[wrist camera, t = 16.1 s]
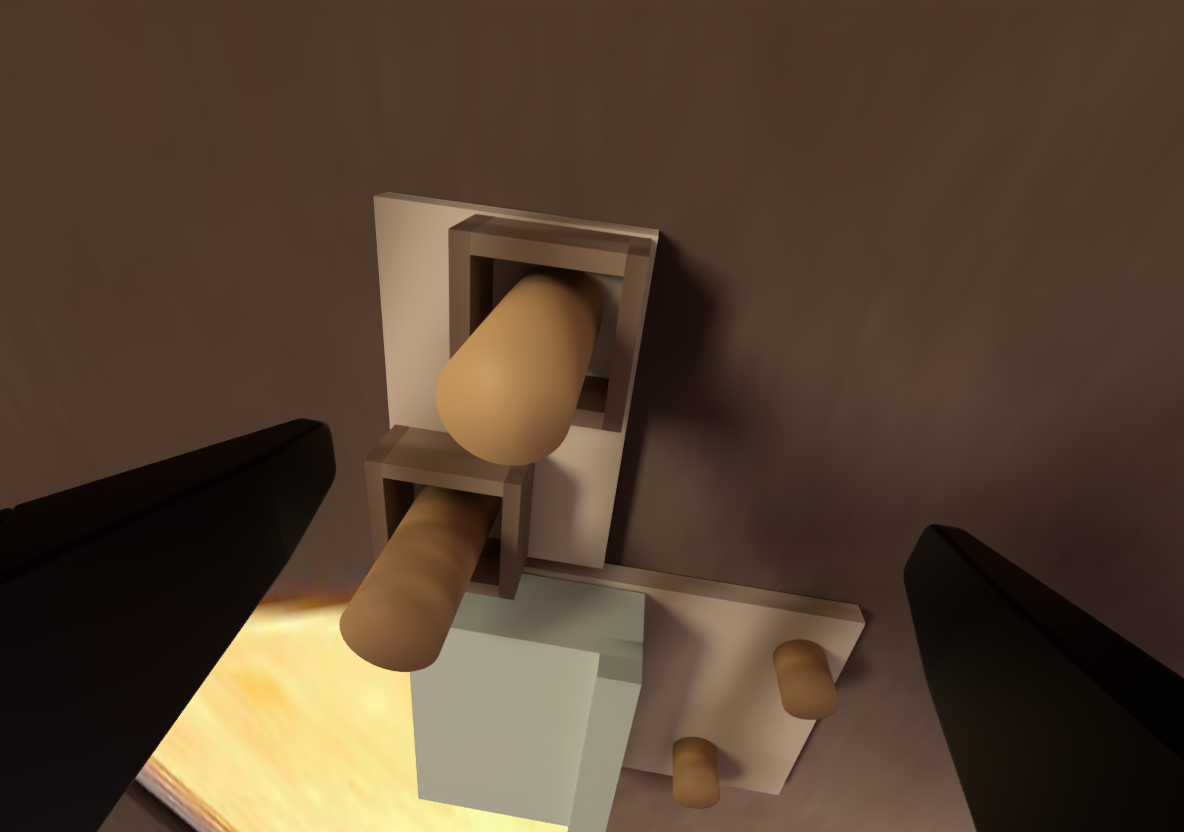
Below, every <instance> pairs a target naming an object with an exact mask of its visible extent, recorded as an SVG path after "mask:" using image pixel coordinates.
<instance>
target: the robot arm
mask: <svg viewBox="0 0 1184 832" xmlns="http://www.w3.org/2000/svg"><path fill="white" fill-rule="evenodd" d="M335 475H336V461H335V453H334V446H333V439H332V432H331V429H330V427H329V425H328V424H327V423H325V422H322V421H316V420H310V419H304V418H301V419H296V420H292V421H289V422H286V423H283V424H279V425H276V426H273V427H270V428H266V429H263V430H260V431H257V432H253V433H250V434H247V435H244V436H240V437H237V438H234V439H231V440H227V441H224V442H221V443H217V444H214V445H211V446H208V447H204V448H201V449H198V450H195V451H191V452H188V453H185V454H182V455H178V456H175V457H172V458H169V459H165V460H162V461H159V462H156V463H152V464H149V465H146V466H143V467H139V468H136V469H133V470H130V471H126V472H123V473H120V474H117V475H113V476H110V477H107V478H103V479H100V480H97V481H94V482H90V483H87V484H84V485H81V486H77V487H74V488H71V489H68V490H64V491H61V492H58V493H55V494H51V495H48V496H45V497H42V498H38V499H35V500H32V501H29V502H25V503H22V504H19V505H16V506H15V507H14V508H13V509H11V508H5V509H2V510H0V832H97V831H98V830H99V828H100V827H101V826H102V824H103V823H104V821H105V820H106V819H107V817H108V816H109V814H110V813H111V812H112V810H113V809H114V807H115V806H116V804H117V803H118V802H119V800H120V799H121V797H122V796H123V795H124V793H125V792H126V790H127V789H128V788H129V786H130V785H131V783H132V782H133V781H134V779H135V778H136V776H137V775H138V773H139V772H140V771H141V769H142V768H143V766H144V765H145V764H146V762H147V761H148V759H149V758H150V757H151V755H152V754H153V752H154V751H155V750H156V748H157V747H158V745H159V744H160V742H161V741H162V740H163V738H164V737H165V735H166V734H167V733H168V731H169V730H170V728H171V727H172V726H173V724H174V723H175V721H176V720H177V719H178V717H179V716H180V714H181V713H182V711H183V710H184V709H185V707H186V706H187V704H188V703H189V702H190V700H191V699H192V697H193V696H194V695H195V693H196V692H197V690H198V689H199V688H200V686H201V685H202V683H203V682H204V680H205V679H206V678H207V676H208V675H209V673H210V672H211V671H212V669H213V668H214V666H215V665H216V664H217V662H218V661H219V659H220V658H221V657H222V655H223V654H224V652H225V651H226V650H227V648H228V647H229V645H230V644H231V642H232V641H233V640H234V638H235V637H236V635H237V634H238V633H239V631H240V630H241V628H242V627H243V626H244V624H245V623H246V621H247V620H248V619H249V617H250V616H251V614H252V613H253V611H254V610H255V609H256V607H257V606H258V604H259V603H260V602H261V600H262V599H263V597H264V596H265V595H266V593H267V592H268V590H269V589H270V588H271V586H272V585H273V583H274V582H275V580H276V579H277V578H278V576H279V575H280V573H281V572H282V570H283V569H284V567H285V566H286V564H287V563H288V561H289V560H290V558H291V556H292V555H293V553H294V551H295V550H296V548H297V546H298V544H299V542H300V541H301V539H302V537H303V535H304V533H305V532H306V530H307V528H308V526H309V525H310V523H311V521H312V519H313V517H314V516H315V514H316V512H317V510H318V508H319V507H320V505H321V503H322V501H323V499H324V498H325V496H326V494H327V492H328V490H329V489H330V487H331V485H332V483H333V481H334V478H335ZM904 584H905V589H906V594H907V598H908V603H909V607H910V612H911V616H912V621H913V625H914V630H915V635H916V639H917V644H918V648H919V653H920V657H921V662H922V666H923V670H924V674H925V678H926V681H927V684H928V688H929V691H930V694H931V697H932V700H933V703H934V706H935V709H936V712H937V715H938V718H939V721H940V724H941V727H942V730H943V733H944V736H945V739H946V742H947V745H948V748H949V751H950V754H951V757H952V760H953V763H954V766H955V769H956V772H957V775H958V778H959V781H960V784H961V787H962V790H963V793H964V796H965V798H966V801H967V804H968V807H969V810H970V813H971V816H972V819H973V822H974V825H975V828H976V831H977V832H1184V678H1183V677H1181V676H1180V675H1178V674H1177V673H1175V672H1174V671H1172V670H1171V669H1169V668H1168V667H1166V666H1165V665H1163V664H1162V663H1160V662H1159V661H1157V660H1156V659H1154V658H1153V657H1151V656H1150V655H1148V654H1147V653H1146V652H1144V651H1143V650H1141V649H1140V648H1138V647H1137V646H1135V645H1134V644H1132V643H1131V642H1129V641H1128V640H1126V639H1125V638H1123V637H1122V636H1120V635H1119V634H1117V633H1116V632H1114V631H1113V630H1111V629H1110V628H1108V627H1107V626H1105V625H1104V624H1103V623H1101V622H1100V621H1098V620H1097V619H1095V618H1094V617H1092V616H1091V615H1089V614H1088V613H1086V612H1085V611H1083V610H1082V609H1080V608H1079V607H1077V606H1076V605H1074V604H1073V603H1071V602H1070V601H1068V600H1067V599H1065V598H1064V597H1062V596H1061V595H1059V594H1058V593H1057V592H1055V591H1054V590H1052V589H1051V588H1049V587H1048V586H1046V585H1045V584H1043V583H1042V582H1040V581H1039V580H1037V579H1036V578H1034V577H1033V576H1031V575H1030V574H1028V573H1027V572H1025V571H1024V570H1022V569H1021V568H1019V567H1018V566H1016V565H1015V564H1014V563H1012V562H1011V561H1009V560H1008V559H1006V558H1005V557H1003V556H1002V555H1000V554H999V553H997V552H996V551H994V550H993V549H991V548H990V547H988V546H987V545H985V544H984V543H982V542H981V541H979V540H978V539H976V538H975V537H973V536H972V535H970V534H969V533H968V532H966V531H964V530H963V529H960V528H956V527H950V526H944V525H937V524H932V525H929V526H928V527H927V528H925V530H924V531H923V533H922V534H921V536H920V538H919V540H918V542H917V544H916V546H915V548H914V550H913V552H912V553H911V555H910V557H909V559H908V561H907V563H906V565H905V569H904Z"/></svg>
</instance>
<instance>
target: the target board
mask: <svg viewBox="0 0 1184 832" xmlns="http://www.w3.org/2000/svg"><path fill="white" fill-rule="evenodd" d="M374 210H375V224H376V238H377V252H378V266H379V279H380V293H381V307H382V321H383V335H384V349H385V363H386V377H387V391H388V405H389V418H390V431H389V432H388V433H387V434H386V435H385V437H384V438H383V439H382V440H381V441H380V442H379V444H378V445H377V446H376V447H375V448H374V449H373V451H372V452H371V453H370V454H369V455H368V456H367V458H366V459H365V460H364V464H365V474H366V484H367V494H368V504H369V513H370V523H371V533H372V543H373V553H374V563H375V564H374V565H373V567H372V568H371V570H370V571H369V573H368V575H367V576H366V578H365V579H364V581H363V582H362V584H361V586H360V587H359V589H358V590H357V592H356V593H355V595H354V597H353V598H352V600H351V601H350V603H349V604H348V606H347V608H346V609H345V611H344V612H343V614H342V616H341V619H340V631H341V634H342V637H343V639H344V640H345V642H346V644H347V645H348V646H349V647H350V648H351V649H352V650H353V651H354V652H355V653H356V654H357V655H358V656H360V657H361V658H362V659H364V660H366V661H367V662H369V663H371V664H373V665H376V666H378V667H381V668H384V669H387V670H392V671H399V672H412V671H418V670H422V669H424V668H427V667H428V666H430V665H432V664H433V663H434V662H435V661H436V660H437V658H438V656H439V654H440V652H441V650H442V647H443V645H444V642H445V640H446V637H447V635H448V632H449V630H450V628H451V625H452V623H453V620H454V618H455V615H456V613H457V611H458V608H459V606H460V603H461V601H462V598H463V596H464V594H465V592H468V593H474V594H480V595H486V596H492V597H498V598H504V599H510V600H514V598H515V595H516V592H517V588H518V585H519V582H520V578H521V575H522V572H523V569H524V565H525V562H526V559H527V557H533V558H539V559H545V560H551V561H557V562H563V563H569V564H575V565H581V566H587V567H594V568H600V569H603V565H604V559H605V553H606V547H607V541H608V535H609V529H610V523H611V517H612V511H613V505H614V499H615V493H616V487H617V481H618V475H619V469H620V463H621V457H622V451H623V445H624V439H625V433H626V427H627V421H628V416H629V410H630V404H631V398H632V392H633V386H634V380H635V374H636V368H637V362H638V356H639V350H640V344H641V338H642V332H643V326H644V320H645V314H646V308H647V302H648V296H649V290H650V284H651V278H652V272H653V266H654V260H655V254H656V248H657V242H658V236H659V230H656V229H649V228H642V227H635V226H628V225H620V224H613V223H606V222H599V221H592V220H585V219H577V218H570V217H563V216H556V215H549V214H542V213H534V212H527V211H520V210H513V209H506V208H499V207H491V206H484V205H477V204H470V203H463V202H456V201H448V200H441V199H434V198H427V197H420V196H413V195H405V194H398V193H391V192H386V193H382V194H379V195H375V196H374ZM539 265H546V266H552V267H559V268H566V269H573V270H580V271H582V272H584V273H585V274H586V275H587V276H588V277H589V278H590V279H591V280H592V281H593V282H594V284H595V285H596V287H597V289H598V291H599V293H600V295H601V298H602V303H603V317H602V322H601V325H600V329H599V332H598V335H597V339H596V342H595V345H594V349H593V352H592V356H591V359H590V362H589V366H588V369H587V372H586V376H585V379H584V382H583V386H582V389H581V392H580V396H579V399H578V403H577V406H576V409H575V413H574V416H573V419H572V423H571V426H570V429H569V432H568V434H567V436H566V438H565V440H564V441H563V442H562V444H561V445H560V446H559V447H558V448H557V449H556V450H555V451H554V452H553V453H551V454H550V455H549V456H547V457H545V458H543V459H542V460H539V461H536V462H534V463H530V464H526V465H513V466H509V465H500V464H496V463H492V462H489V461H486V460H483V459H481V458H479V457H477V456H475V455H473V454H471V453H470V452H468V451H467V450H466V449H464V448H463V447H462V446H460V445H459V444H458V443H457V442H456V441H455V440H454V439H453V437H452V436H451V435H450V434H449V432H448V431H447V429H446V428H445V426H444V424H443V422H442V420H441V418H440V415H439V413H438V408H437V403H436V388H437V383H438V379H439V376H440V374H441V372H442V370H443V368H444V366H445V365H446V364H447V363H448V361H449V360H450V359H451V358H452V357H453V356H454V354H455V353H456V352H457V351H458V350H459V349H460V348H461V346H462V345H463V344H464V343H465V342H466V341H467V340H468V338H469V337H470V336H471V335H472V334H473V333H474V331H475V330H476V329H477V328H478V327H479V326H480V325H481V323H482V322H483V321H484V320H485V319H486V318H487V317H488V315H489V314H490V313H491V312H492V311H493V310H494V309H495V307H496V306H497V305H498V304H499V303H500V302H501V301H502V299H503V298H504V297H505V296H506V295H507V294H508V293H509V291H510V290H511V289H512V288H513V287H514V286H515V285H516V283H517V282H518V281H519V280H520V279H521V278H522V277H523V276H524V275H525V274H526V273H527V272H528V271H529V270H531V269H532V268H534V267H536V266H539Z"/></svg>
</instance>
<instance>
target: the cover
mask: <svg viewBox="0 0 1184 832" xmlns="http://www.w3.org/2000/svg"><path fill="white" fill-rule="evenodd" d="M644 605H645V594H643V593H637V592H631V591H625V590H619V589H613V588H607V587H601V586H595V585H589V584H583V583H577V582H571V581H565V580H559V579H553V578H547V577H541V576H535V575H529V574H523V573H522V575H521V578H520V582H519V585H518V588H517V592H516V595H515V598H514V600H510V599H504V598H498V597H492V596H486V595H480V594H474V593H468V592H465V594H464V596H463V598H462V601H461V603H460V606H459V608H458V611H457V613H456V615H455V618H454V620H453V623H452V625H451V628H450V630H449V632H448V635H447V637H446V640H445V642H444V645H443V647H442V650H441V652H440V654H439V656H438V658H437V660H436V661H435V662H434V663H433V664H432V665H430V666H428V667H427V668H424V669H422V670H418V671H412V672H410V681H411V695H412V710H413V724H414V739H415V753H416V768H417V782H418V797H419V799H424V800H429V801H434V802H440V803H445V804H450V805H456V806H461V807H467V808H472V809H477V810H483V811H488V812H494V813H499V814H504V815H510V816H515V817H520V818H526V819H531V820H537V821H542V822H547V823H553V824H558V825H563V826H568V832H605V831H606V827H607V823H608V819H609V815H610V811H611V807H612V803H613V799H614V795H615V791H616V786H617V782H618V778H619V774H620V770H621V766H622V762H623V758H624V754H625V750H626V746H627V742H628V738H629V734H630V730H631V726H632V721H633V717H634V713H635V709H636V705H637V701H638V697H639V693H640V689H641V685H642V659H643V632H644Z"/></svg>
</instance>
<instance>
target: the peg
mask: <svg viewBox="0 0 1184 832" xmlns="http://www.w3.org/2000/svg"><path fill="white" fill-rule="evenodd" d="M602 317H603V303H602V298H601V295H600V293H599V291H598V289H597V287H596V285H595V284H594V282H593V281H592V280H591V279H590V278H589V277H588V276H587V275H586V274H585V273H584V272H582V271H580V270H573V269H566V268H559V267H552V266H546V265H539V266H536V267H534V268H532V269H531V270H529V271H528V272H527V273H526V274H525V275H524V276H523V277H522V278H521V279H520V280H519V281H518V282H517V283H516V285H515V286H514V287H513V288H512V289H511V290H510V291H509V293H508V294H507V295H506V296H505V297H504V298H503V299H502V301H501V302H500V303H499V304H498V305H497V306H496V307H495V309H494V310H493V311H492V312H491V313H490V314H489V315H488V317H487V318H486V319H485V320H484V321H483V322H482V323H481V325H480V326H479V327H478V328H477V329H476V330H475V331H474V333H473V334H472V335H471V336H470V337H469V338H468V340H467V341H466V342H465V343H464V344H463V345H462V346H461V348H460V349H459V350H458V351H457V352H456V353H455V354H454V356H453V357H452V358H451V359H450V360H449V361H448V363H447V364H446V365H445V366H444V368H443V370H442V372H441V374H440V376H439V379H438V383H437V388H436V403H437V408H438V413H439V415H440V418H441V420H442V422H443V424H444V426H445V428H446V429H447V431H448V432H449V434H450V435H451V436H452V437H453V439H454V440H455V441H456V442H457V443H458V444H459V445H460V446H462V447H463V448H464V449H466V450H467V451H468V452H470V453H471V454H473V455H475V456H477V457H479V458H481V459H483V460H486V461H489V462H492V463H496V464H500V465H509V466H513V465H526V464H530V463H534V462H536V461H539V460H542V459H543V458H545V457H547V456H549V455H550V454H551V453H553V452H554V451H555V450H556V449H557V448H558V447H559V446H560V445H561V444H562V442H563V441H564V440H565V438H566V436H567V434H568V432H569V429H570V426H571V423H572V419H573V416H574V413H575V409H576V406H577V403H578V399H579V396H580V392H581V389H582V386H583V382H584V379H585V376H586V372H587V369H588V366H589V362H590V359H591V356H592V352H593V349H594V345H595V342H596V339H597V335H598V332H599V329H600V325H601V322H602Z"/></svg>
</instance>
